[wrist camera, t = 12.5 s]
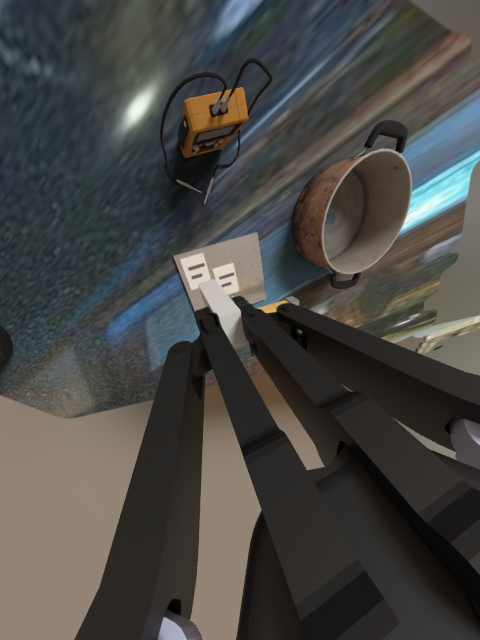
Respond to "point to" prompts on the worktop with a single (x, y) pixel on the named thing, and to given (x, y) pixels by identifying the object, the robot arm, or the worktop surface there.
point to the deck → (245, 263)
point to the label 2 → (226, 278)
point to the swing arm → (272, 307)
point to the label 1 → (195, 270)
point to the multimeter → (211, 118)
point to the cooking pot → (355, 208)
